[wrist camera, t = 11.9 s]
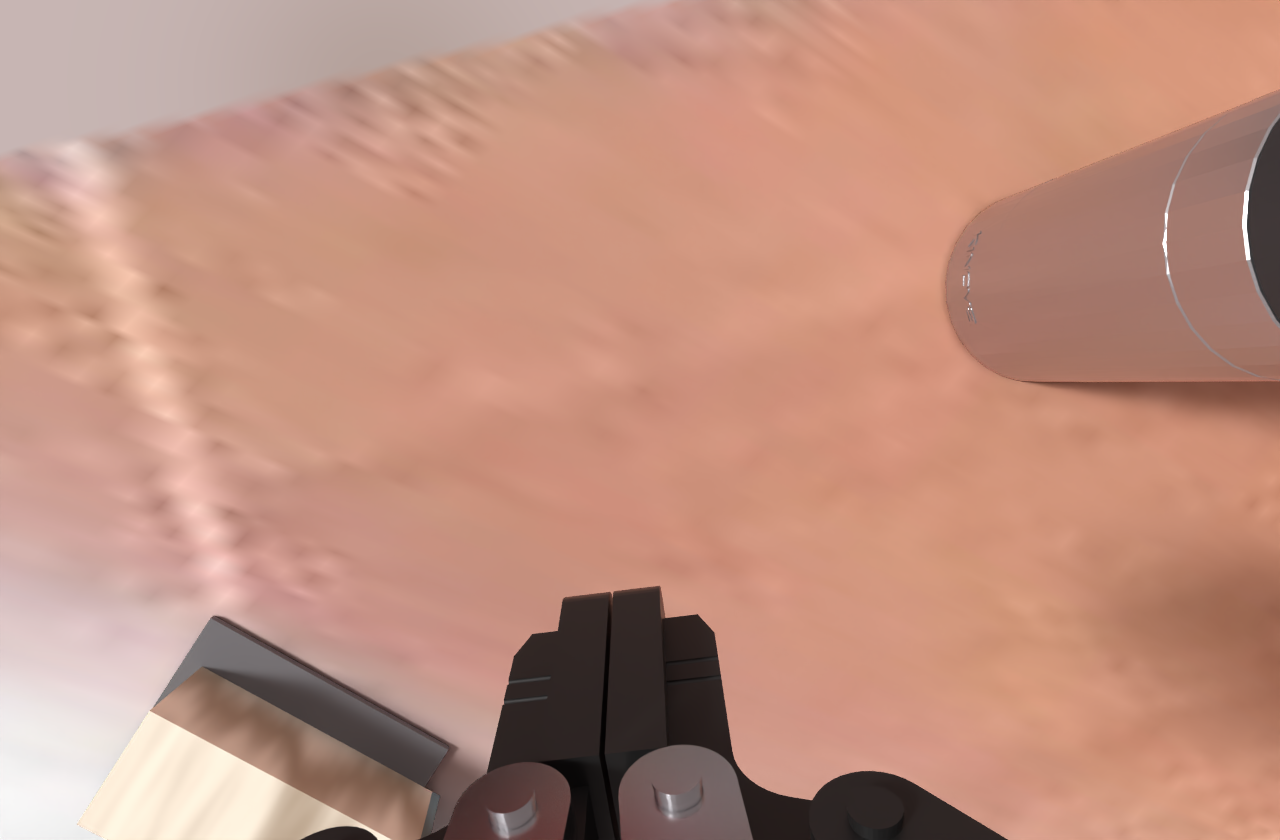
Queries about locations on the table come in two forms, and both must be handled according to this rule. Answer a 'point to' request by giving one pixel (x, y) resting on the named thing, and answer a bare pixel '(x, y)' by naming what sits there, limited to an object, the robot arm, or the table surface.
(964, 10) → the table surface
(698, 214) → the table surface
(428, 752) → the gray rectangular block
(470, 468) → the table surface
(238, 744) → the birch block
